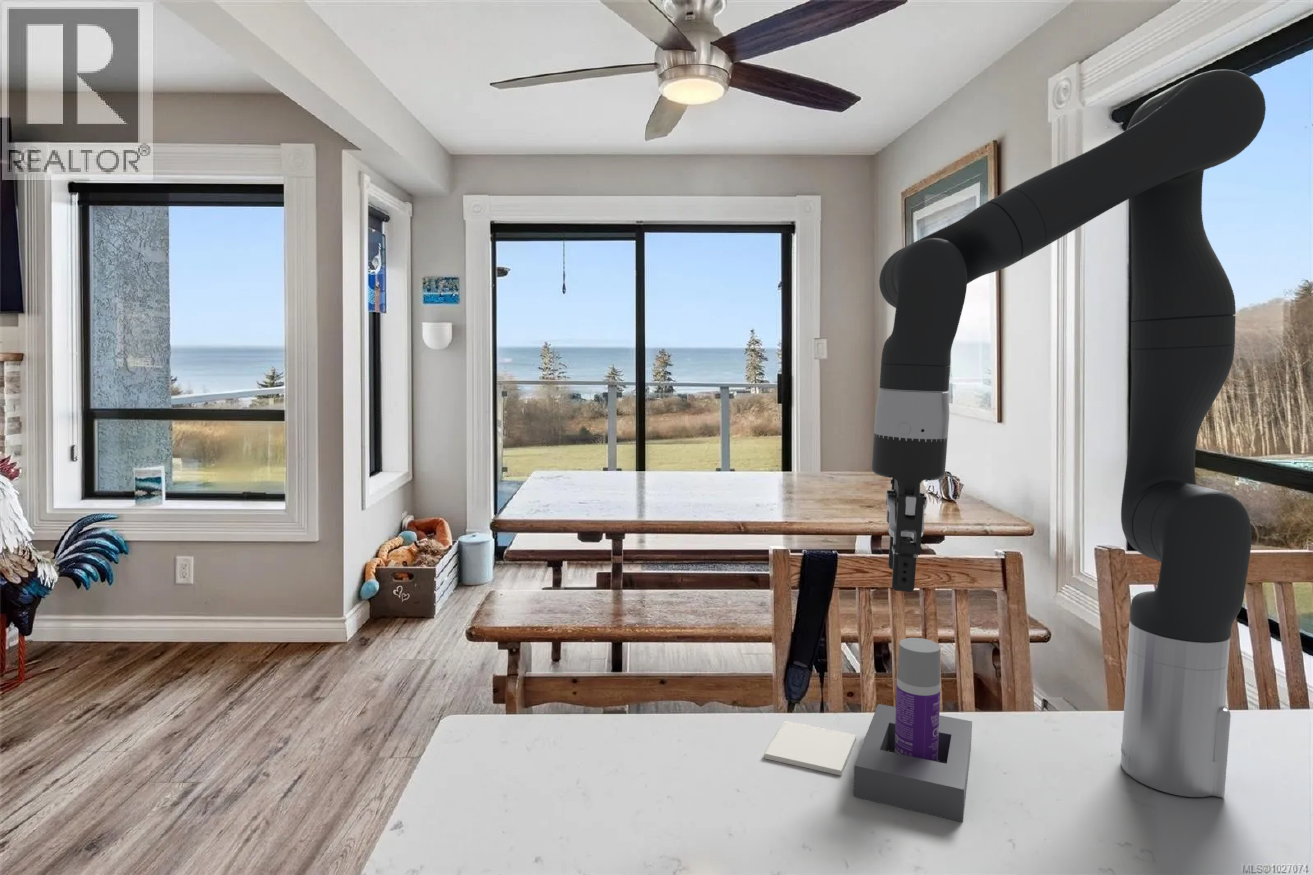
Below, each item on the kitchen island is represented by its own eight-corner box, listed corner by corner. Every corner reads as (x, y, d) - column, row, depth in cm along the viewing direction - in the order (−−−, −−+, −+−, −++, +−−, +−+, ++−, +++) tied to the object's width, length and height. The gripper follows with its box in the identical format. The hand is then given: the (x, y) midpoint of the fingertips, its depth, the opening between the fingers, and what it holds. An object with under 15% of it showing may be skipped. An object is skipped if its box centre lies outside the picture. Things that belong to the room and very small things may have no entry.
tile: (856, 739, 94) (856, 735, 94) (841, 775, 86) (841, 770, 86) (785, 725, 98) (785, 720, 98) (764, 758, 90) (764, 753, 90)
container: (940, 784, 84) (945, 654, 83) (896, 780, 85) (900, 651, 83) (933, 762, 89) (938, 638, 87) (892, 758, 90) (895, 635, 88)
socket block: (970, 748, 92) (972, 721, 91) (962, 822, 77) (964, 789, 77) (877, 730, 96) (878, 703, 96) (853, 796, 82) (854, 765, 82)
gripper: (956, 441, 74) (943, 603, 75) (940, 428, 87) (930, 566, 89) (875, 436, 76) (865, 594, 77) (872, 425, 89) (864, 559, 91)
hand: (900, 579), depth 83 cm, fingers open, 8 cm apart
